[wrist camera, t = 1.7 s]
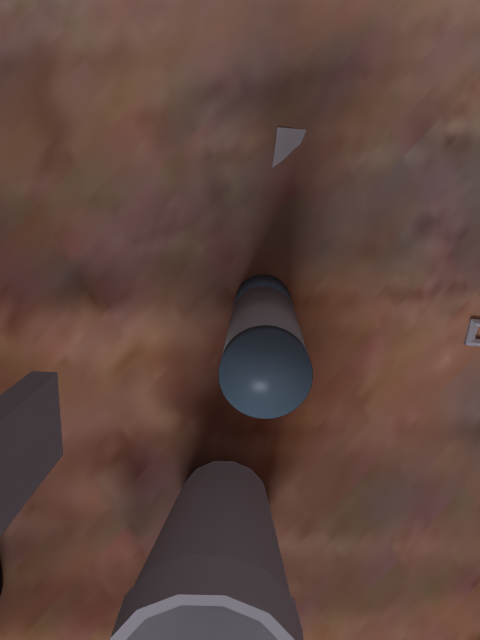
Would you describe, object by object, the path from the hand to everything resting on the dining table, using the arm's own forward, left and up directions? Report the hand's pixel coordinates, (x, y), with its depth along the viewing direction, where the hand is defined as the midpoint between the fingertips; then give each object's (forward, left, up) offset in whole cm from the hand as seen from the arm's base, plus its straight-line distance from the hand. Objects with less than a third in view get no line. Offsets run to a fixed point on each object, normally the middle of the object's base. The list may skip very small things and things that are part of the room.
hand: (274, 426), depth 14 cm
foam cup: (-2, -15, -17) cm, 23 cm away
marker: (0, 0, -17) cm, 17 cm away
